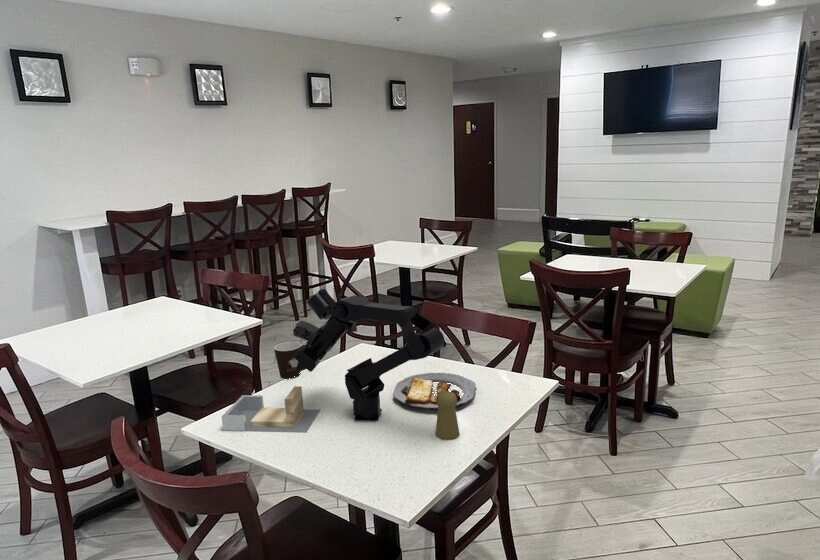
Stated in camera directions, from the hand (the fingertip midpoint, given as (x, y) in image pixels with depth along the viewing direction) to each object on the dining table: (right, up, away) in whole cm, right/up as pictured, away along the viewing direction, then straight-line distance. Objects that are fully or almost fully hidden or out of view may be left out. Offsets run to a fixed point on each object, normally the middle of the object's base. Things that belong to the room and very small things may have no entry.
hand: (297, 370), depth 154 cm
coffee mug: (-6, -6, +27) cm, 28 cm away
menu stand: (-4, -13, -5) cm, 14 cm away
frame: (-13, -13, -4) cm, 19 cm away
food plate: (+39, -9, +7) cm, 40 cm away
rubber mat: (-6, -13, -5) cm, 15 cm away
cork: (+41, -14, -16) cm, 46 cm away
